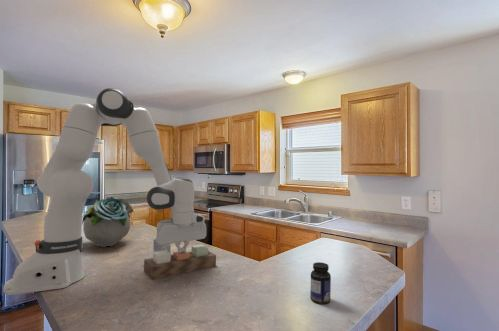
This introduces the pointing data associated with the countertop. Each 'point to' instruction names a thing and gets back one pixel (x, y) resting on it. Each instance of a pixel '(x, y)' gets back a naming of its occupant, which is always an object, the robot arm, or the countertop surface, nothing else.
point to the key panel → (178, 265)
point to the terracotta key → (181, 255)
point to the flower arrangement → (107, 221)
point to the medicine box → (161, 247)
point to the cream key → (161, 257)
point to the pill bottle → (320, 283)
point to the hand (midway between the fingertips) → (181, 252)
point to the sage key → (199, 250)
